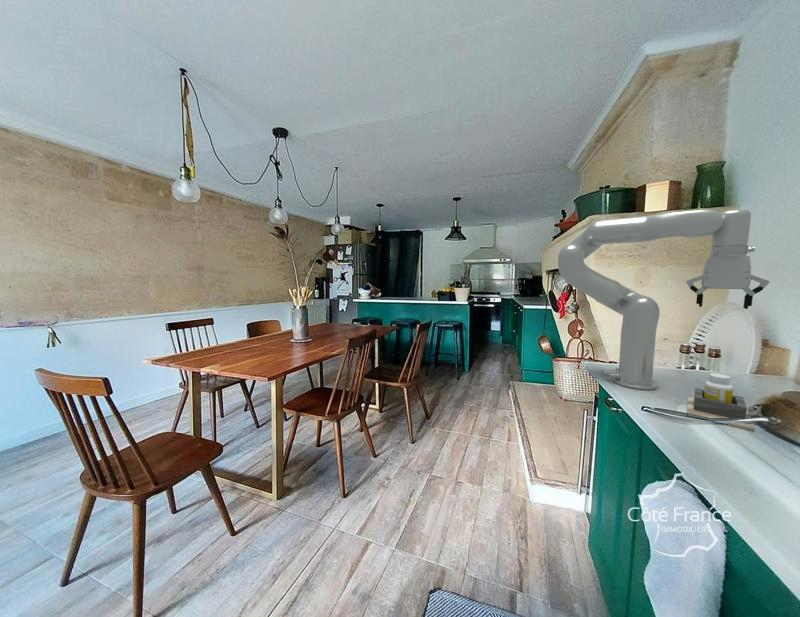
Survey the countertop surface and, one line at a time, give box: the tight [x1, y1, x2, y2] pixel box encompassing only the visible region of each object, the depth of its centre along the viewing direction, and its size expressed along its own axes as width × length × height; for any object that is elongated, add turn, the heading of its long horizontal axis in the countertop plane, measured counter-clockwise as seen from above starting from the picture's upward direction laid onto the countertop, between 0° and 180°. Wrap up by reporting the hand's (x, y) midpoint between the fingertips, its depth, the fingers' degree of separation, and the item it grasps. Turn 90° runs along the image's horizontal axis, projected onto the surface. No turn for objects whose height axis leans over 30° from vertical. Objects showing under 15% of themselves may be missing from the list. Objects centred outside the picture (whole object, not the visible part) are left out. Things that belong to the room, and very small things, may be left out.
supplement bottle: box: [703, 372, 734, 404], centre depth 83 cm, size 5×5×10 cm
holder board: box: [686, 388, 755, 432], centre depth 83 cm, size 16×12×4 cm
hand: (722, 307), depth 93 cm, fingers open, 9 cm apart
